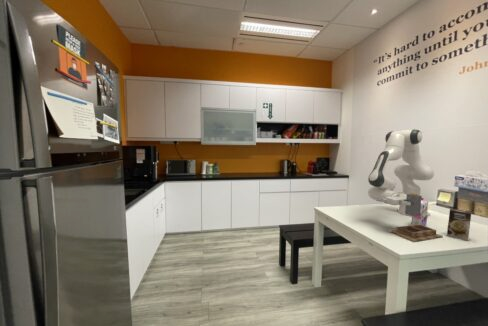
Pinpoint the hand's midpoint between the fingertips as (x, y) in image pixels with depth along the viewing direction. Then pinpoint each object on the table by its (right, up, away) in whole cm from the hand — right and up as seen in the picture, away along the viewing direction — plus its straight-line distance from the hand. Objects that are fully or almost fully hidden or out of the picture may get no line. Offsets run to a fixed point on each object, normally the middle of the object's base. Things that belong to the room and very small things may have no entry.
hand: (415, 203), depth 126 cm
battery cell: (0, -7, +1) cm, 7 cm away
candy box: (+19, -19, +20) cm, 33 cm away
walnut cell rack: (+4, -20, +4) cm, 20 cm away
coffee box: (+27, -20, +2) cm, 34 cm away
